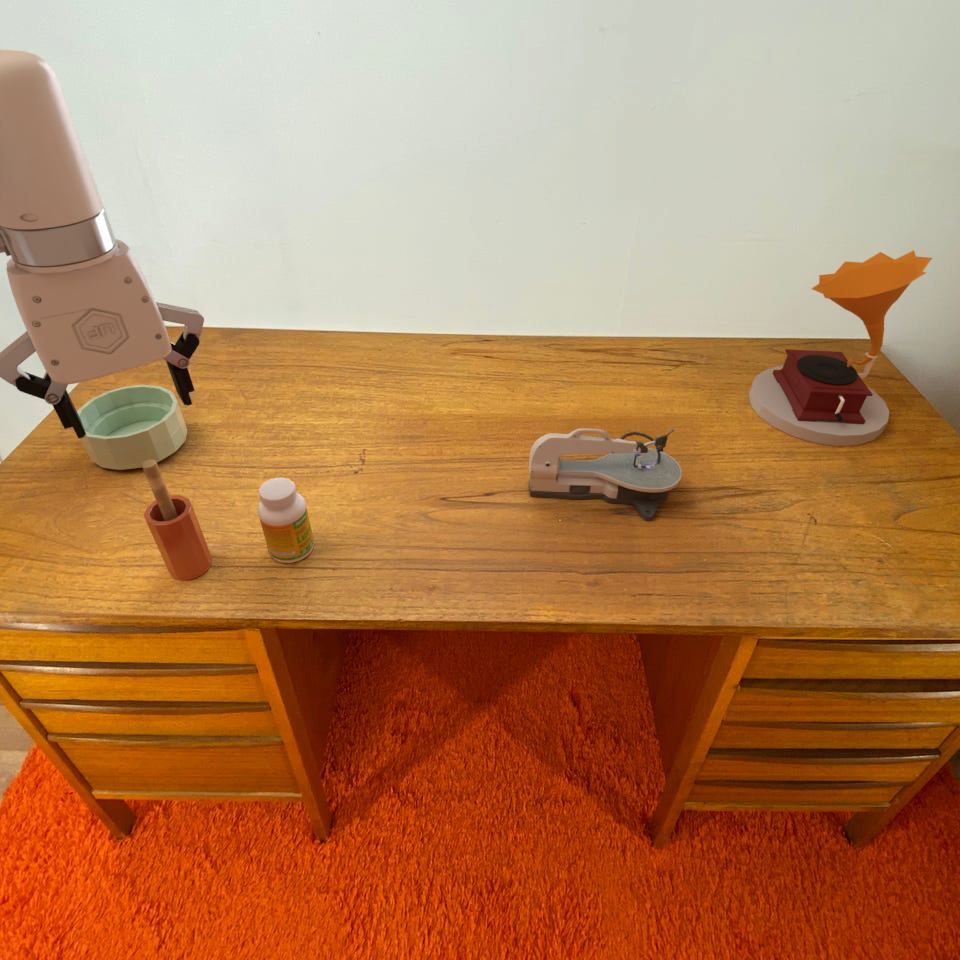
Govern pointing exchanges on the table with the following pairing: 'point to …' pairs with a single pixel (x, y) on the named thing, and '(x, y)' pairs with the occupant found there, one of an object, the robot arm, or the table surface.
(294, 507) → the supplement bottle
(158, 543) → the utensil pot
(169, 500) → the stick
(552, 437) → the jigsaw machine
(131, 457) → the bowl
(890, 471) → the table surface
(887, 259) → the gramophone
